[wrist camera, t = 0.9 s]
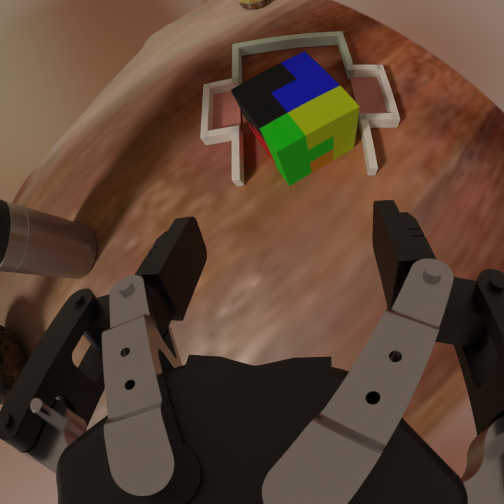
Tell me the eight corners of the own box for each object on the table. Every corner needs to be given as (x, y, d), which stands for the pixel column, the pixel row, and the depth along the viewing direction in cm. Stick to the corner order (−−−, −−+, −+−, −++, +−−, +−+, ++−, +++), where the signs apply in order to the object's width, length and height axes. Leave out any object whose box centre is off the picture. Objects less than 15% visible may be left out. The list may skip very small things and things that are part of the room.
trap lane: (407, 174, 34) (411, 167, 31) (205, 190, 40) (198, 185, 38) (368, 40, 37) (369, 31, 35) (210, 58, 43) (206, 50, 41)
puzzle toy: (311, 97, 38) (304, 51, 28) (353, 148, 36) (359, 106, 26) (251, 131, 39) (230, 90, 30) (289, 186, 37) (276, 152, 28)
